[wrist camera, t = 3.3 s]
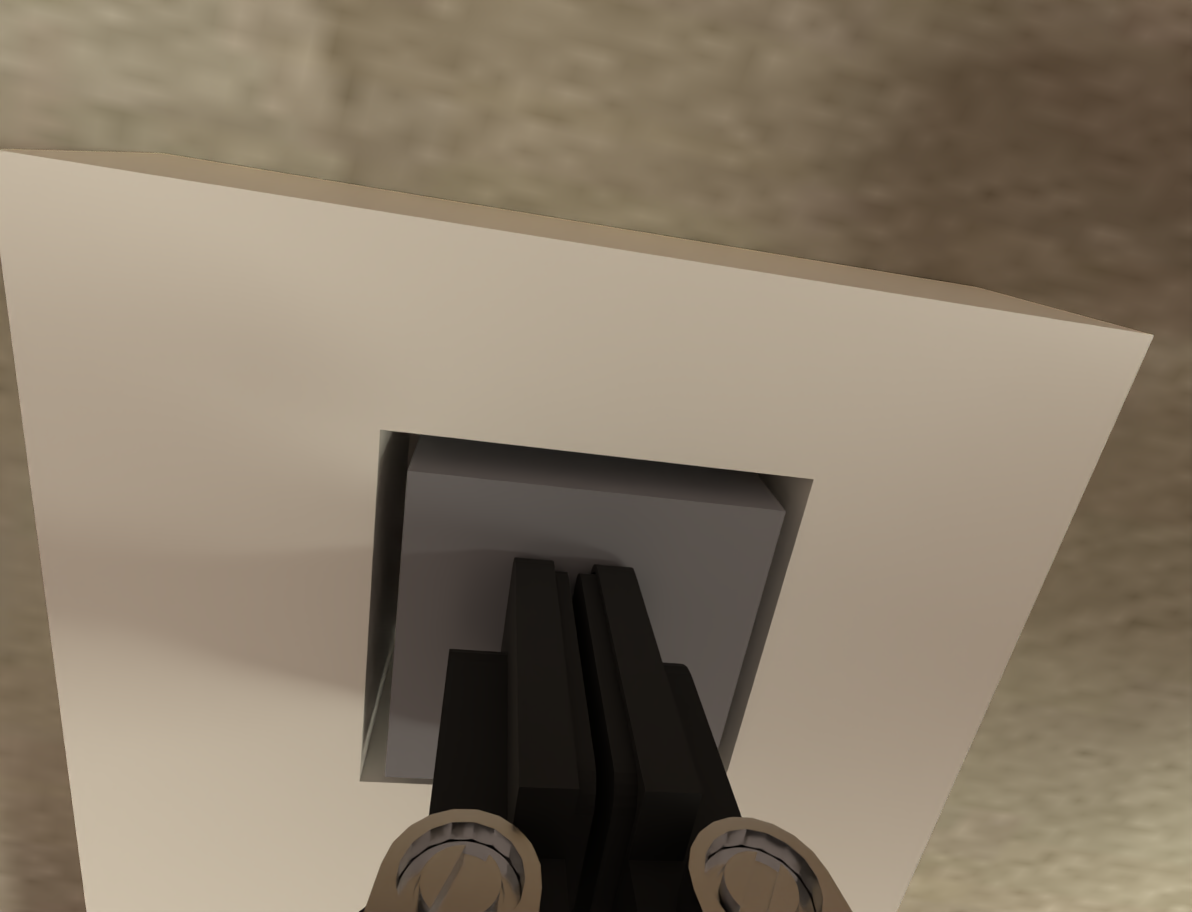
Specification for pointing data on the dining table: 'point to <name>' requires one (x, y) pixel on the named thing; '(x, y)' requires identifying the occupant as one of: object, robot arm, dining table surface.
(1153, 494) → the dining table surface
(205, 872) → the key panel
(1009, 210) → the dining table surface
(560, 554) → the charcoal key
